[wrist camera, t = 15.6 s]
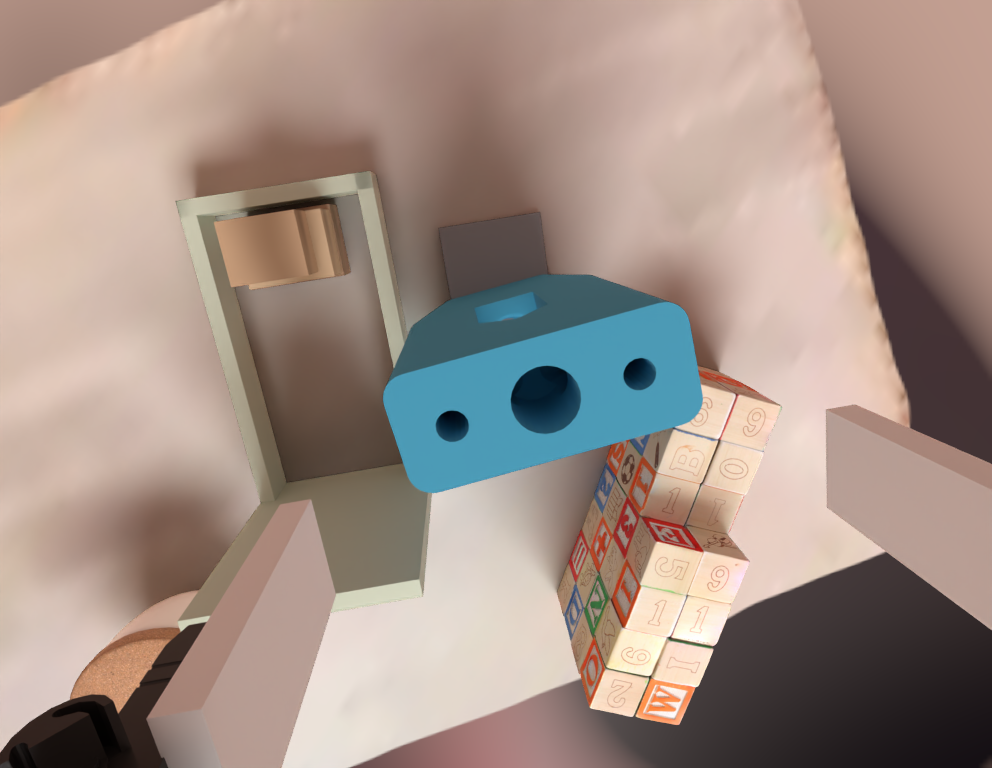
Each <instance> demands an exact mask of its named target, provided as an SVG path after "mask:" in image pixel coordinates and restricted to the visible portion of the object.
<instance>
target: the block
mask: <svg viewBox="0 0 992 768" xmlns="http://www.w3.org/2000/svg"><path fill="white" fill-rule="evenodd" d="M507 318H513V319H511V320H504V321H502V320H503V319H507ZM383 402H384V407H385V410H386V413H387V416H388V419H389V422H390V425H391V428H392V431H393V434H394V437H395V440H396V443H397V446H398V449H399V452H400V455H401V458H402V461H403V464H404V467H405V470H406V473H407V476H408V478H409V480H410V482H411V483H412V484H413V485H414V486H415V487H416V488H417V489H419V490H421V491H424V492H427V493H437V492H442V491H445V490H449V489H453V488H456V487H460V486H463V485H467V484H471V483H474V482H478V481H481V480H485V479H489V478H492V477H496V476H499V475H503V474H507V473H510V472H514V471H517V470H521V469H525V468H528V467H532V466H536V465H539V464H543V463H546V462H550V461H554V460H557V459H561V458H564V457H568V456H572V455H575V454H579V453H582V452H586V451H590V450H593V449H597V448H601V447H604V446H608V445H611V444H615V443H619V442H622V441H626V440H629V439H633V438H637V437H640V436H644V435H647V434H651V433H655V432H658V431H662V430H666V429H669V428H673V427H676V426H680V425H683V424H686V423H688V422H690V421H691V420H692V419H694V418H695V417H696V416H697V414H698V413H699V411H700V409H701V407H702V403H703V394H702V388H701V383H700V377H699V372H698V366H697V361H696V355H695V350H694V344H693V339H692V333H691V328H690V322H689V319H688V316H687V314H686V312H685V311H684V310H683V309H682V308H681V307H680V306H679V305H676V304H674V303H671V302H669V301H666V300H663V299H660V298H657V297H654V296H651V295H648V294H645V293H642V292H639V291H636V290H633V289H631V288H628V287H625V286H622V285H619V284H616V283H613V282H610V281H607V280H604V279H601V278H598V277H596V276H593V275H547V274H543V275H538V276H534V277H530V278H527V279H523V280H520V281H516V282H512V283H509V284H505V285H502V286H498V287H495V288H491V289H487V290H484V291H480V292H477V293H473V294H469V295H466V296H462V297H459V298H455V299H451V300H449V301H447V302H445V303H444V304H442V305H441V306H440V307H438V308H437V309H435V310H434V311H432V312H431V313H430V314H428V315H427V316H425V317H424V318H423V319H421V320H420V321H418V322H417V323H416V324H414V325H413V327H412V328H411V330H410V332H409V334H408V337H407V339H406V341H405V344H404V346H403V348H402V351H401V353H400V355H399V358H398V360H397V362H396V365H395V367H394V369H393V371H392V374H391V376H390V378H389V381H388V383H387V385H386V388H385V390H384V393H383Z"/></svg>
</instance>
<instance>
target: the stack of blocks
mask: <svg viewBox="0 0 992 768" xmlns="http://www.w3.org/2000/svg"><path fill="white" fill-rule="evenodd" d="M698 372H699V377H700V383H701V388H702V394H703V403H702V407H701V409H700V411H699V413H698V414H697V416H696V417H695V418H694V419H692V420H691V421H690V422H688V423H686V424H683V425H680V426H676V427H673V428H669V429H666V430H662V431H658V432H655V433H651V434H647V435H644V436H640V437H637V438H633V439H629V440H626V441H622V442H619V443H615V444H612V446H611V448H610V451H609V454H608V456H607V459H606V460H607V463H606V465H605V467H604V470H603V473H602V476H601V478H600V481H599V484H598V486H597V489H596V492H595V496H594V498H593V501H592V503H591V506H590V509H589V511H588V514H587V517H586V520H585V522H584V525H583V528H582V530H581V531H580V534H579V536H578V539H577V542H576V544H575V547H574V550H573V552H572V555H571V558H570V560H569V563H568V565H567V568H566V570H565V573H564V575H563V578H562V581H561V584H560V586H559V589H558V592H557V595H558V599H559V601H560V605H561V609H562V613H563V616H564V617H565V621H566V625H567V628H568V632H569V636H570V640H571V646H572V650H573V654H574V658H575V661H576V665H577V668H578V672H579V674H581V678H582V682H583V686H584V690H585V693H586V697H587V701H588V704H589V707H590V708H592V709H597V710H602V711H608V712H612V713H617V714H621V715H626V716H631V717H632V716H633V715H634V714H635V716H636V717H639V718H642V719H648V720H654V721H659V722H664V723H670V724H677V725H678V724H680V721H681V719H682V717H683V715H684V712H685V710H686V708H687V705H688V703H689V701H690V699H691V696H692V694H693V692H694V690H695V687H697V686H698V685H699V684H700V681H701V679H702V677H703V674H704V671H705V669H706V667H707V665H708V662H709V660H710V657H711V655H712V652H713V645H715V644H716V643H717V641H718V639H719V637H720V634H721V632H722V629H723V627H724V625H725V622H726V619H727V617H728V615H729V612H730V610H731V603H732V602H733V601H734V599H735V596H736V594H737V592H738V589H739V587H740V584H741V582H742V580H743V577H744V575H745V572H746V570H747V567H748V565H749V560H748V559H747V558H746V556H745V555H744V554H743V553H742V551H741V550H740V549H739V548H738V547H737V545H736V544H735V543H734V542H733V541H732V539H731V538H730V537H729V536H728V534H729V532H730V529H731V527H732V525H733V522H734V520H735V517H736V515H737V513H738V510H739V508H740V506H741V503H742V501H743V498H744V495H746V494H747V492H748V490H749V487H750V485H751V483H752V480H753V478H754V476H755V473H756V471H757V469H758V466H759V464H760V461H761V459H762V457H763V454H764V451H763V450H764V448H765V446H766V444H767V442H768V439H769V437H770V435H771V432H772V430H773V428H774V426H775V423H776V420H777V418H778V416H779V414H780V411H781V408H782V406H780V405H779V404H777V403H775V402H774V401H772V400H770V399H768V398H767V397H765V396H763V395H761V394H759V392H757V391H755V390H754V389H752V388H750V387H748V386H746V385H744V384H743V383H741V382H739V381H736V380H734V379H732V378H730V377H729V376H727V375H725V374H723V373H721V372H718V371H714V370H711V369H707V368H704V367H700V366H698Z"/></svg>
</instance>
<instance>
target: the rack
mask: <svg viewBox="0 0 992 768" xmlns="http://www.w3.org/2000/svg"><path fill="white" fill-rule="evenodd" d="M354 194H358V196H359V201H360V206H361V211H362V216H363V221H364V226H365V230H366V235H367V240H368V245H369V250H370V255H371V260H372V265H373V270H374V275H375V279H376V284H377V289H378V294H379V299H380V304H381V309H382V314H383V319H384V323H385V328H386V333H387V338H388V343H389V348H390V353H391V358H392V363H393V368H394V367H395V365H396V362H397V360H398V358H399V355H400V353H401V351H402V348H403V346H404V344H405V341H406V339H407V337H408V336H407V331H406V326H405V321H404V315H403V310H402V305H401V300H400V295H399V290H398V285H397V280H396V274H395V269H394V264H393V259H392V254H391V249H390V244H389V239H388V233H387V228H386V223H385V218H384V213H383V208H382V203H381V198H380V192H379V187H378V182H377V177H376V175H375V174H374V173H372V172H371V171H365V172H359V173H352V174H346V175H340V176H333V177H327V178H320V179H314V180H307V181H301V182H295V183H288V184H282V185H275V186H269V187H262V188H256V189H250V190H243V191H237V192H230V193H224V194H217V195H211V196H204V197H198V198H192V199H185V200H179V201H176V205H177V208H178V212H179V216H180V219H181V223H182V226H183V230H184V233H185V237H186V240H187V244H188V247H189V251H190V254H191V258H192V262H193V265H194V269H195V272H196V276H197V279H198V283H199V286H200V290H201V293H202V297H203V300H204V304H205V308H206V311H207V315H208V318H209V322H210V325H211V329H212V332H213V336H214V339H215V343H216V346H217V350H218V354H219V357H220V361H221V364H222V368H223V371H224V375H225V378H226V382H227V385H228V389H229V392H230V396H231V400H232V403H233V407H234V410H235V414H236V417H237V421H238V424H239V428H240V431H241V435H242V438H243V442H244V446H245V449H246V453H247V456H248V460H249V463H250V467H251V470H252V474H253V477H254V481H255V484H256V488H257V492H258V495H259V499H260V502H261V503H260V505H259V506H258V508H257V509H256V510H255V512H254V513H253V515H252V516H251V517H250V519H249V520H248V522H247V523H246V525H245V526H244V527H243V529H242V530H241V532H240V533H239V534H238V536H237V537H236V539H235V540H234V542H233V543H232V544H231V546H230V547H229V549H228V550H227V551H226V553H225V554H224V556H223V557H222V559H221V560H220V561H219V563H218V564H217V566H216V567H215V568H214V570H213V571H212V573H211V574H210V576H209V577H208V578H207V580H206V581H205V583H204V584H203V585H202V587H201V588H200V590H199V591H198V593H197V594H196V595H195V597H194V598H193V600H192V601H191V603H190V604H189V605H188V607H187V608H186V610H185V611H184V612H183V614H182V615H181V617H180V618H179V620H178V621H177V622H178V625H179V628H180V631H182V630H184V629H185V628H186V627H187V626H188V625H192V624H197V623H203V622H207V621H208V619H209V618H210V616H211V615H212V613H213V611H214V610H215V608H216V607H217V605H218V603H219V602H220V600H221V599H222V597H223V595H224V594H225V592H226V590H227V589H228V587H229V586H230V584H231V582H232V581H233V579H234V578H235V576H236V574H237V573H238V571H239V570H240V568H241V566H242V565H243V563H244V562H245V560H246V558H247V557H248V555H249V554H250V552H251V550H252V549H253V547H254V546H255V544H256V542H257V541H258V539H259V538H260V536H261V534H262V533H263V531H264V530H265V528H266V526H267V525H268V523H269V522H270V520H271V518H272V517H273V515H274V514H275V512H276V510H277V509H278V507H279V505H280V504H286V503H291V502H297V501H303V500H309V499H311V501H312V505H313V509H314V512H315V516H316V520H317V524H318V528H319V532H320V535H321V539H322V543H323V547H324V551H325V555H326V558H327V562H328V566H329V570H330V574H331V578H332V581H333V585H334V589H335V593H336V597H335V600H334V603H333V606H332V609H331V613H332V612H338V611H343V610H349V609H355V608H361V607H366V606H372V605H378V604H384V603H389V602H395V601H401V600H406V599H412V598H418V597H423V590H424V579H425V567H426V555H427V544H428V532H429V520H430V509H431V497H432V493H427V492H424V491H421V490H419V489H417V488H416V487H415V486H414V485H413V484H412V483H411V482H410V480H409V478H408V476H407V473H406V470H405V467H404V464H403V463H401V464H395V465H389V466H384V467H378V468H372V469H366V470H360V471H354V472H348V473H342V474H336V475H330V476H324V477H318V478H312V479H306V480H301V481H295V482H289V483H286V479H285V475H284V471H283V468H282V464H281V460H280V456H279V453H278V449H277V445H276V441H275V438H274V434H273V430H272V426H271V423H270V419H269V415H268V411H267V408H266V404H265V400H264V397H263V393H262V389H261V385H260V382H259V378H258V374H257V370H256V367H255V363H254V359H253V355H252V352H251V348H250V344H249V340H248V337H247V333H246V329H245V325H244V322H243V318H242V314H241V311H240V307H239V303H238V299H237V296H236V292H235V288H234V287H231V285H230V281H229V277H228V274H227V270H226V266H225V262H224V259H223V255H222V251H221V248H220V244H219V240H218V236H217V233H216V229H215V225H214V222H217V221H216V217H215V216H220V215H226V214H233V213H239V212H245V211H252V210H258V209H265V208H271V207H277V206H284V205H290V204H297V203H303V202H309V201H316V200H322V199H329V198H335V197H341V196H348V195H354Z"/></svg>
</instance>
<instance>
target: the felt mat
mask: <svg viewBox="0 0 992 768" xmlns="http://www.w3.org/2000/svg"><path fill="white" fill-rule="evenodd" d="M439 234H440V240H441V245H442V251H443V257H444V263H445V269H446V274H447V280H448V286H449V292H450V298H451V299H455V298H459V297H462V296H466V295H469V294H473V293H477V292H480V291H484V290H487V289H491V288H495V287H498V286H502V285H505V284H509V283H512V282H516V281H520V280H523V279H527V278H530V277H534V276H538V275H543V274H547V275H548V270H547V262H546V255H545V247H544V239H543V231H542V223H541V216H540V212H537V213H531V214H525V215H518V216H512V217H506V218H499V219H493V220H487V221H480V222H474V223H468V224H462V225H455V226H449V227H443V228H439ZM511 319H513V318H507V319H503V320H502V321H504V320H511Z"/></svg>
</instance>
